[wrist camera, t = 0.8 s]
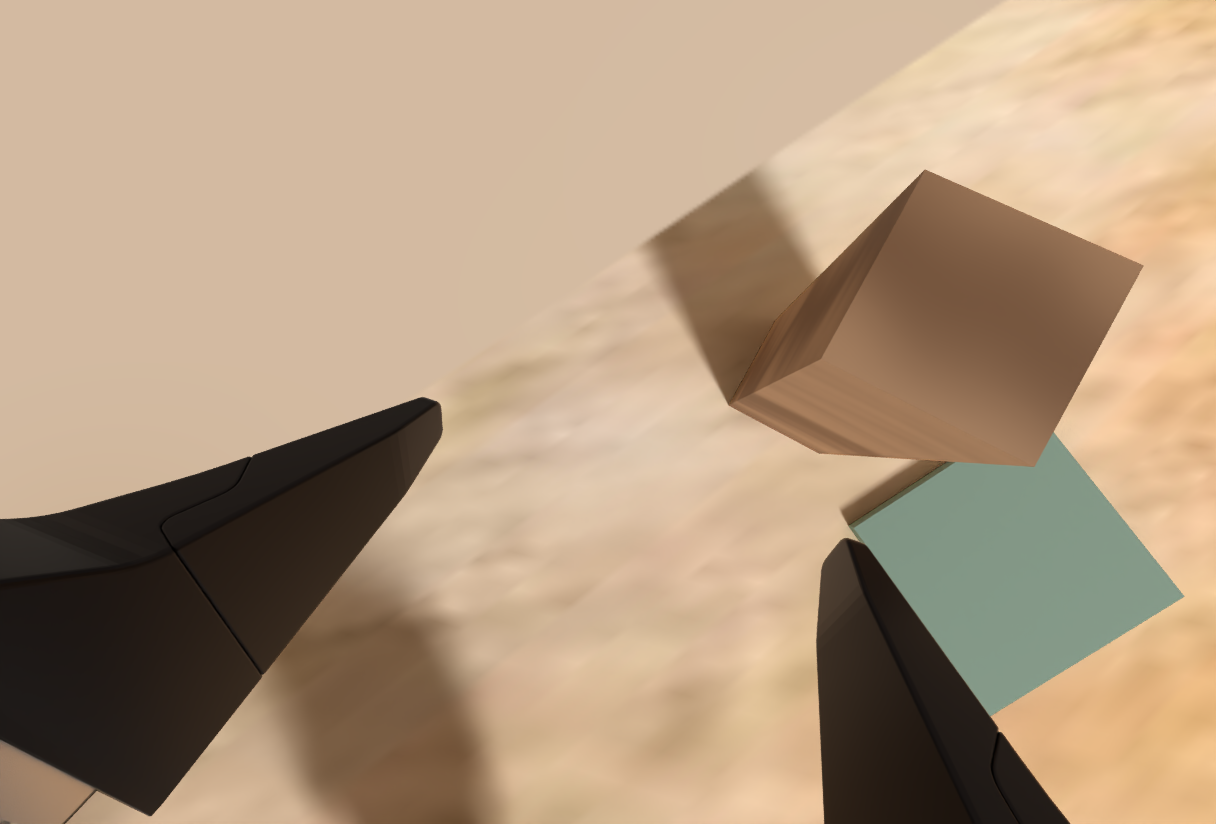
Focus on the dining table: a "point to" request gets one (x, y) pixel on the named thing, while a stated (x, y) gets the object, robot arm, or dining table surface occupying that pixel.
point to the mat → (1015, 568)
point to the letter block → (939, 334)
